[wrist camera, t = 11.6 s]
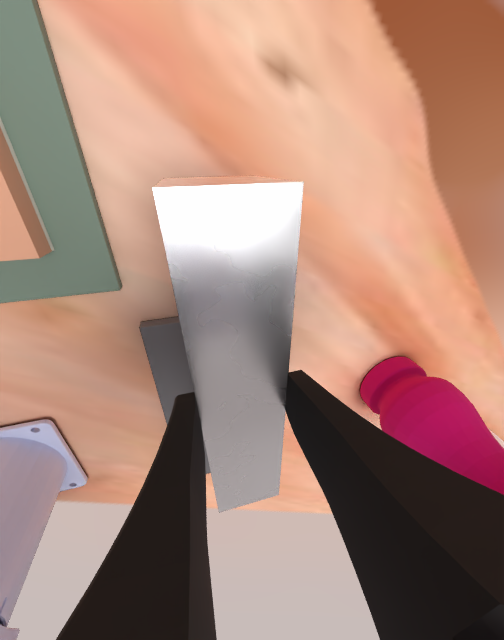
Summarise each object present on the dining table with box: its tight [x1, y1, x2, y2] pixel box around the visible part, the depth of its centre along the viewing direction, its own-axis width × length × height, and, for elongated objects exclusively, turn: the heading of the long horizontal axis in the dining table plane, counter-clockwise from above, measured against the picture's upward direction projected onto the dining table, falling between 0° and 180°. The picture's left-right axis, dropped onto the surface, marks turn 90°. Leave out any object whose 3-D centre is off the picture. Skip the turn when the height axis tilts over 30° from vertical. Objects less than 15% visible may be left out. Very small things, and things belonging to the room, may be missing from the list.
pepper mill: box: [360, 357, 504, 495], centre depth 17 cm, size 7×7×20 cm
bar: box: [153, 175, 304, 513], centre depth 12 cm, size 4×16×5 cm, turn 2°
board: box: [139, 317, 211, 474], centre depth 21 cm, size 9×17×1 cm, turn 2°
